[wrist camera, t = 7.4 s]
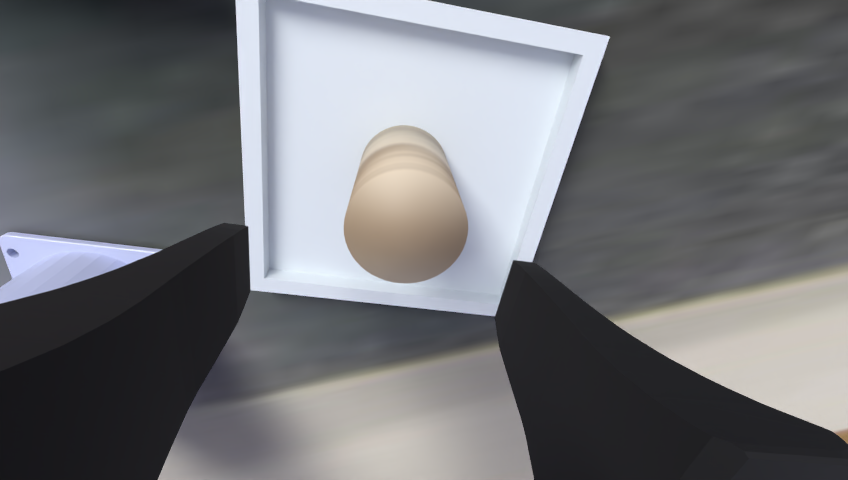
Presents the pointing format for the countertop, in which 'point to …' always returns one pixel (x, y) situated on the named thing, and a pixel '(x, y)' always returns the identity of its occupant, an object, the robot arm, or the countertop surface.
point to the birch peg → (405, 208)
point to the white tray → (393, 106)
